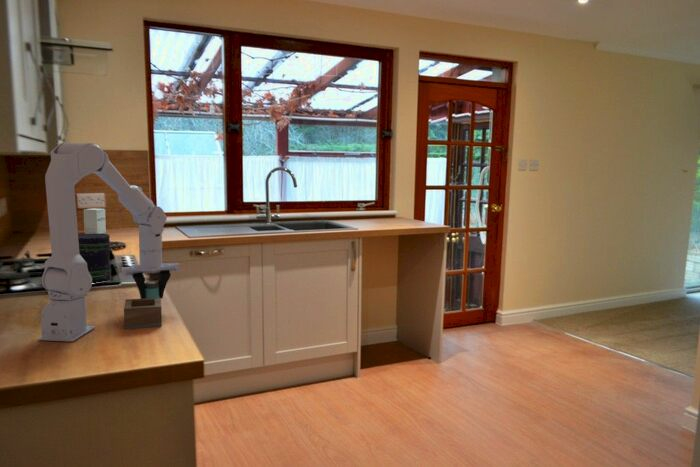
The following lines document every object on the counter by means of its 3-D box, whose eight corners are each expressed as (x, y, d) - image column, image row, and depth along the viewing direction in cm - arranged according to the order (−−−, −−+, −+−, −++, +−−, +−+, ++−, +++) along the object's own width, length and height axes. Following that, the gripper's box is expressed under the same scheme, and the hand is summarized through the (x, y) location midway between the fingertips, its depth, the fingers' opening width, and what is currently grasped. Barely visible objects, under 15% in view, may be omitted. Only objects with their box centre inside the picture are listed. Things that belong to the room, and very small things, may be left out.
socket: (161, 326, 125) (161, 306, 124) (124, 329, 122) (123, 309, 121) (161, 316, 133) (160, 297, 132) (126, 318, 130) (125, 299, 129)
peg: (156, 310, 137) (155, 285, 136) (141, 309, 138) (140, 284, 137) (162, 306, 141) (161, 281, 140) (147, 305, 142) (147, 281, 141)
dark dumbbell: (154, 286, 169) (153, 275, 183) (168, 278, 171) (165, 267, 184) (144, 272, 167) (144, 261, 181) (158, 264, 169) (157, 254, 182)
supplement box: (97, 234, 256) (96, 209, 254) (83, 234, 257) (82, 209, 256) (106, 232, 264) (105, 208, 262) (93, 232, 265) (92, 207, 263)
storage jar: (74, 279, 167) (72, 234, 165) (106, 276, 173) (105, 232, 171) (81, 286, 159) (80, 239, 157) (115, 282, 166) (113, 236, 163)
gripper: (124, 254, 130) (125, 305, 132) (182, 250, 138) (182, 299, 140) (119, 249, 136) (121, 299, 138) (175, 246, 144) (175, 293, 146)
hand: (151, 298), depth 139 cm, fingers closed on peg, 4 cm apart
